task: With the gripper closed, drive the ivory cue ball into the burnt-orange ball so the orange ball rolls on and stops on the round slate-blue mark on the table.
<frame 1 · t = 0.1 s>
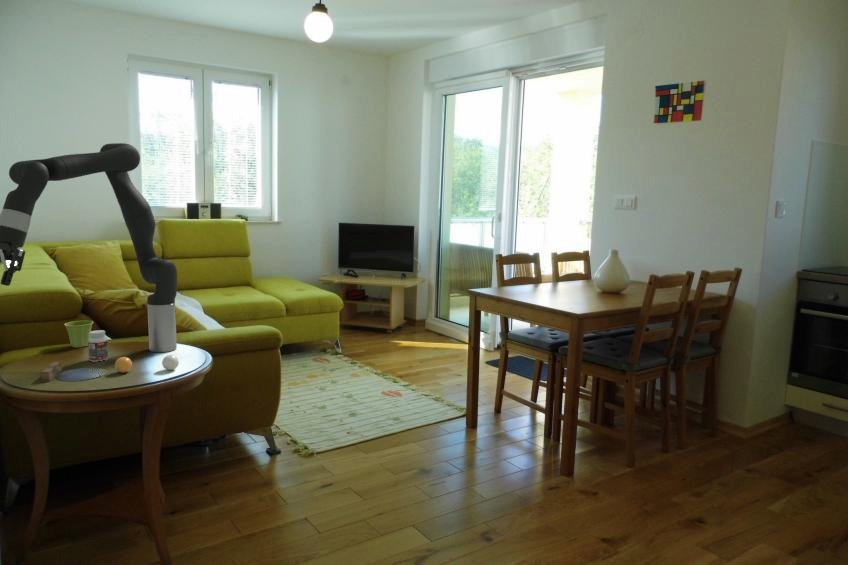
plant pot: (80, 346, 229), on the table
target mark: (82, 374, 194), on the table
object ball: (123, 364, 197), on the table
pill bottle: (98, 360, 211), on the table
stopper wall: (51, 376, 192), on the table
cue ball: (170, 362, 201), on the table
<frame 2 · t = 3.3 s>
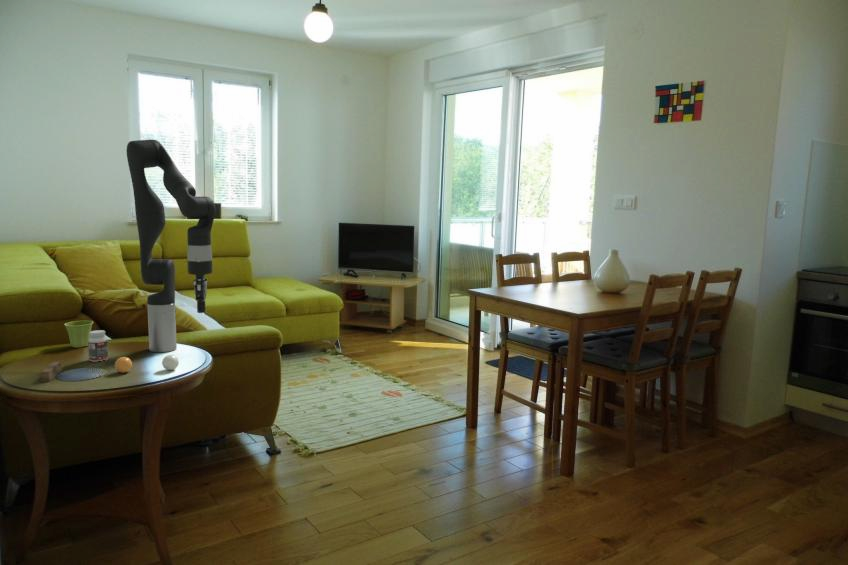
hand: (201, 311, 201), 19 cm above the table, tool pointing down, fingers closed
nothing on the table moved.
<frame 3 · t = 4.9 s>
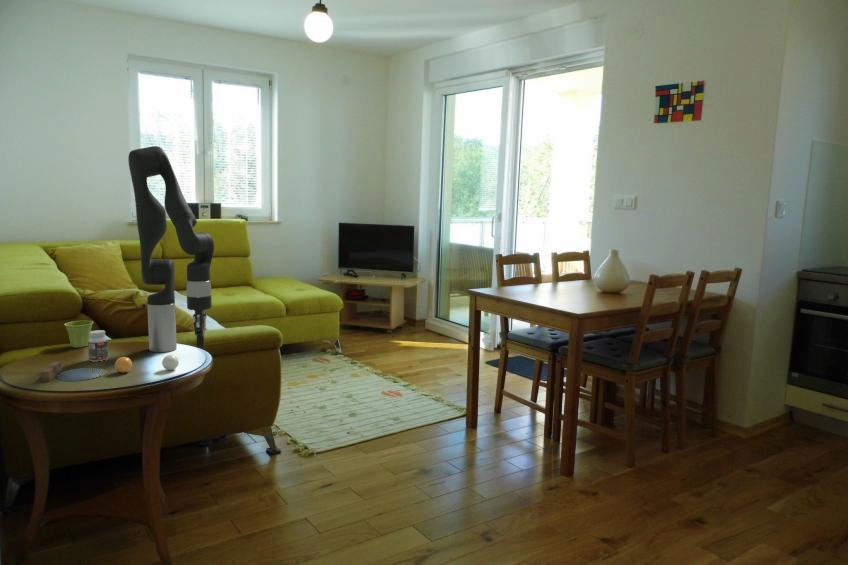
hand: (200, 346, 202), 8 cm above the table, tool pointing down, fingers closed
nothing on the table moved.
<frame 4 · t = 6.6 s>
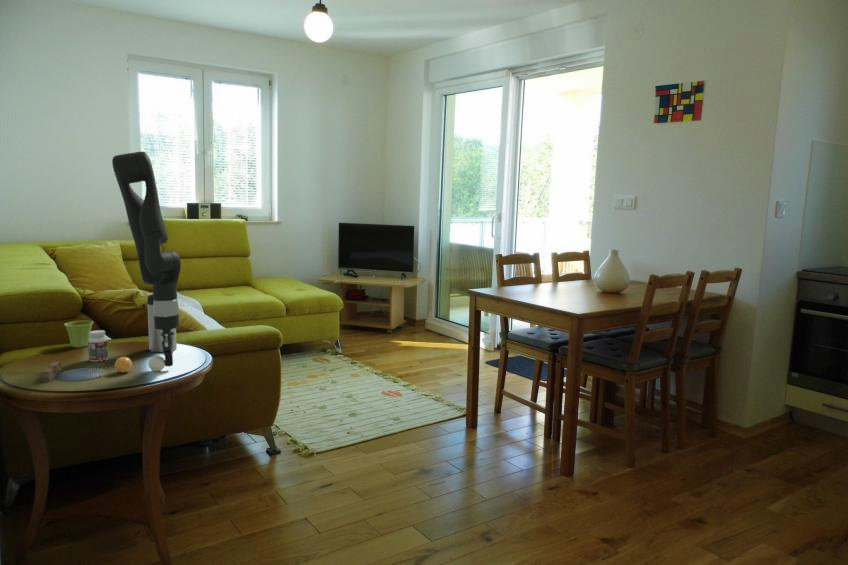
hand: (169, 365, 201), 2 cm above the table, tool pointing down, fingers closed
cue ball: (157, 363, 199), on the table, touching gripper
everything else where it was.
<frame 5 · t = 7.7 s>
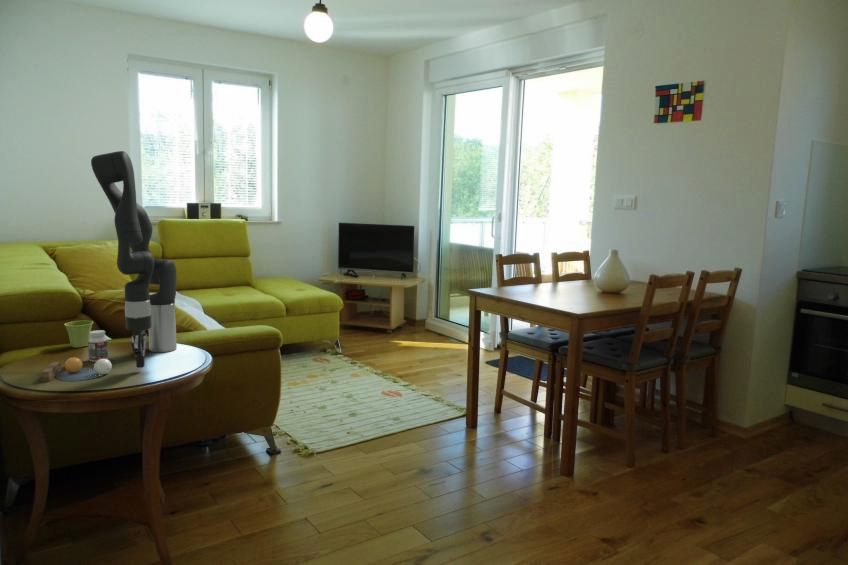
hand: (140, 366, 198), 1 cm above the table, tool pointing down, fingers closed
object ball: (73, 365, 195), on the table
cue ball: (102, 366, 195), on the table
everything else where it was.
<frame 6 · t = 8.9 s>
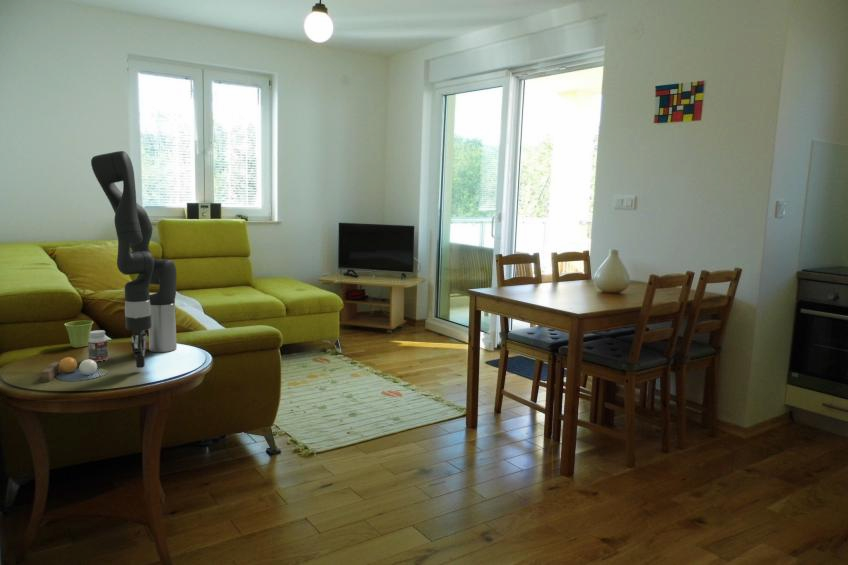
hand: (140, 366, 198), 1 cm above the table, tool pointing down, fingers closed
object ball: (68, 365, 195), on the table
cue ball: (88, 367, 193), on the table
everything else where it was.
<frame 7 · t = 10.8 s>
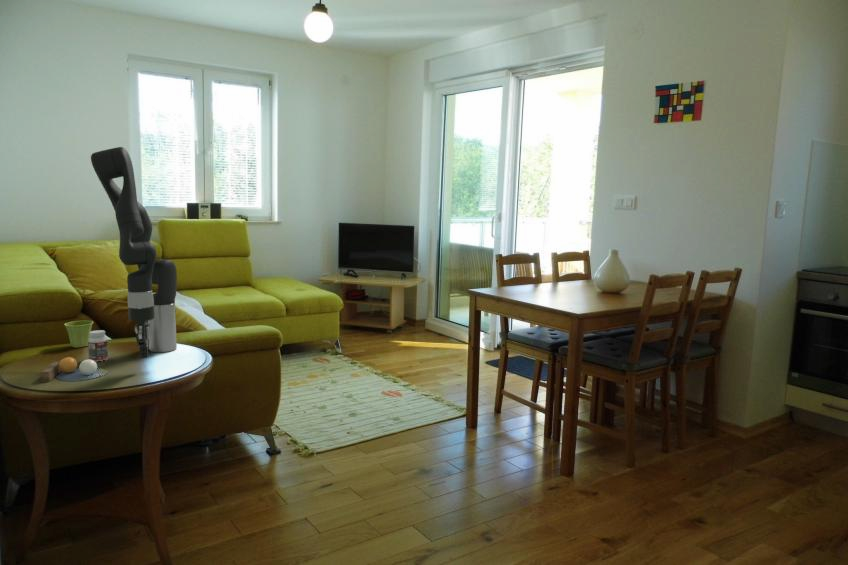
hand: (144, 357, 198), 5 cm above the table, tool pointing down, fingers closed
nothing on the table moved.
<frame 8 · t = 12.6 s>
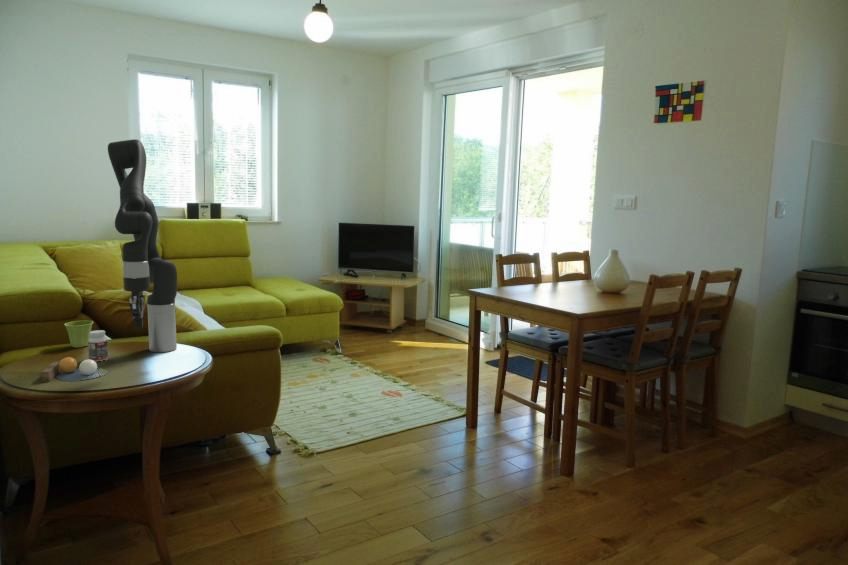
hand: (138, 329, 197), 14 cm above the table, tool pointing down, fingers closed
nothing on the table moved.
at the end: object ball 5.3 cm from the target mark (horizontally); object ball never touched the robot; cue ball first touched object ball at 6.8 s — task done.
